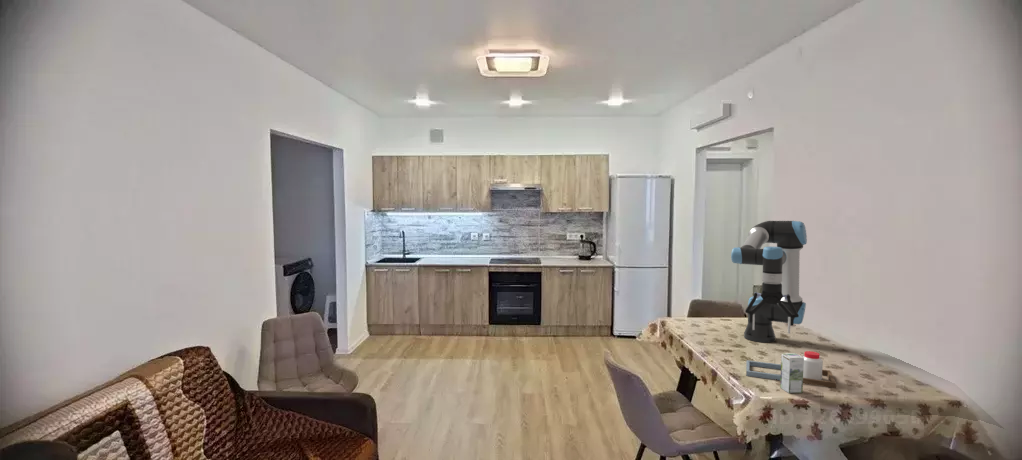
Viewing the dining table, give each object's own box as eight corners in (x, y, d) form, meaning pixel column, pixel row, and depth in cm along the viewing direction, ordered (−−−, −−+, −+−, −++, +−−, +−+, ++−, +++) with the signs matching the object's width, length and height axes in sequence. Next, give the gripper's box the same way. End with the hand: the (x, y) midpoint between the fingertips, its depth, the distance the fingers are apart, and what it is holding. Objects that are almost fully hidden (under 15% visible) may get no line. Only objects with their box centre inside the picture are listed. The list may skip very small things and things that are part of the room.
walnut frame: (788, 369, 214) (789, 365, 214) (830, 375, 207) (830, 370, 207) (791, 381, 200) (791, 377, 200) (835, 387, 193) (836, 383, 193)
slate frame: (746, 364, 222) (746, 360, 221) (784, 369, 215) (784, 364, 215) (746, 375, 208) (746, 371, 208) (787, 381, 201) (787, 376, 201)
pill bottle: (811, 382, 199) (812, 356, 198) (796, 376, 206) (796, 351, 206) (826, 380, 201) (827, 355, 200) (810, 374, 209) (811, 349, 208)
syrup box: (793, 387, 194) (794, 352, 193) (803, 393, 189) (804, 357, 188) (780, 387, 194) (780, 352, 193) (788, 393, 188) (789, 357, 187)
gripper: (739, 282, 210) (738, 329, 212) (806, 286, 199) (805, 336, 200) (740, 279, 217) (739, 325, 218) (805, 283, 206) (803, 331, 207)
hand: (770, 330), depth 209 cm, fingers open, 13 cm apart
